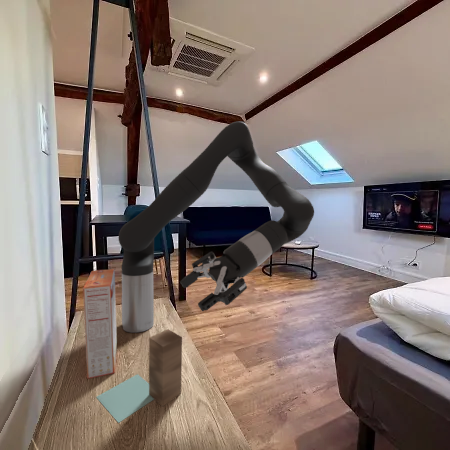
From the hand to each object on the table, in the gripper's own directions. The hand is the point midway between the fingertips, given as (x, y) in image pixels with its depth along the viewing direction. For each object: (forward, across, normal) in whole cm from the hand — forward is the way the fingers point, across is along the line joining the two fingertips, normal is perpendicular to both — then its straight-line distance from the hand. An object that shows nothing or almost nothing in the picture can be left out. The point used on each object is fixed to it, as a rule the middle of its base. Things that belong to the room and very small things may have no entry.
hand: (190, 295), depth 55 cm
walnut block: (+15, -7, -11) cm, 20 cm away
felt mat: (+20, -3, -9) cm, 23 cm away
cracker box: (+25, +12, -12) cm, 30 cm away
